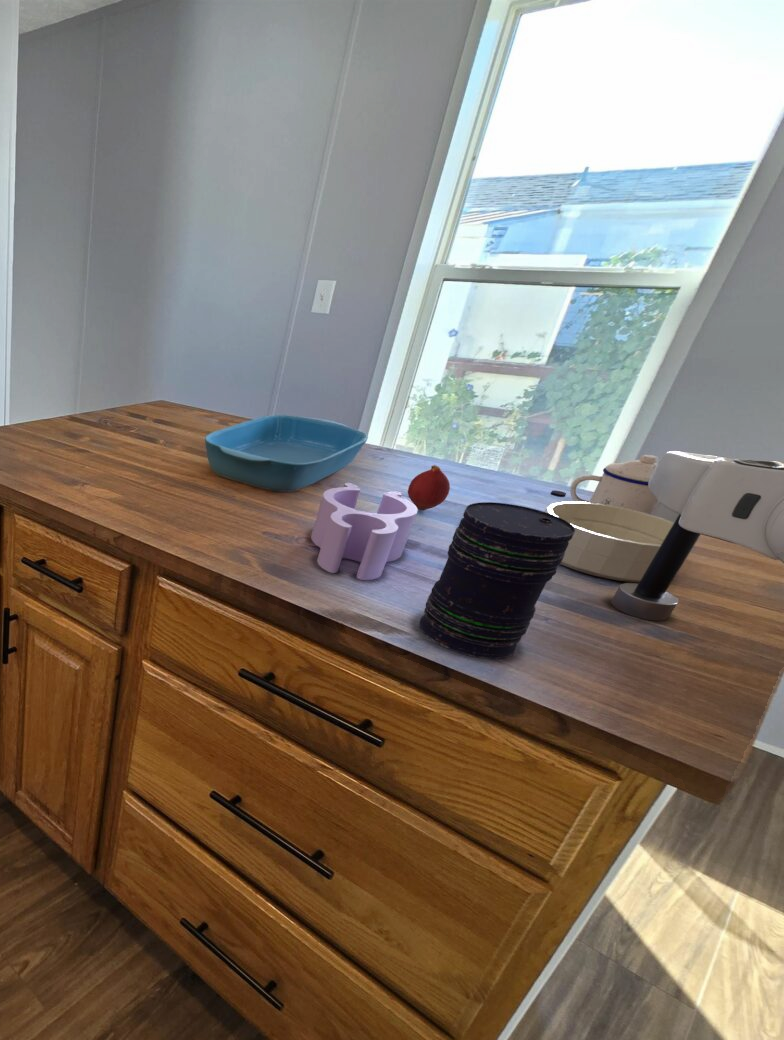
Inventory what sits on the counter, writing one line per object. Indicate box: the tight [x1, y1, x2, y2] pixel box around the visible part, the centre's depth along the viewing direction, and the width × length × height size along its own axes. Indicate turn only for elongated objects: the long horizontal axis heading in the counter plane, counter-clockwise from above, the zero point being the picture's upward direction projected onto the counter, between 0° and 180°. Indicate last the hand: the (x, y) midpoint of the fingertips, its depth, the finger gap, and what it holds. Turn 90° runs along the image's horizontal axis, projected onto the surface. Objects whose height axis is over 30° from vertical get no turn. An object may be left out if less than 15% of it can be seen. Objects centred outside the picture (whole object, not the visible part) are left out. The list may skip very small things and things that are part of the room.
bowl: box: [544, 501, 699, 583], centre depth 95 cm, size 16×16×6 cm
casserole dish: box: [204, 414, 369, 493], centre depth 129 cm, size 37×22×7 cm, turn 132°
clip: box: [310, 482, 419, 581], centre depth 96 cm, size 20×12×7 cm, turn 148°
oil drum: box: [418, 490, 575, 660], centre depth 73 cm, size 10×10×18 cm
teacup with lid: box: [569, 454, 660, 514], centre depth 106 cm, size 12×9×12 cm
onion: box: [407, 464, 451, 512], centre depth 111 cm, size 6×6×8 cm
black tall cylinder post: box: [610, 514, 702, 622], centre depth 79 cm, size 6×6×18 cm
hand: (777, 472), depth 64 cm, fingers open, 8 cm apart
